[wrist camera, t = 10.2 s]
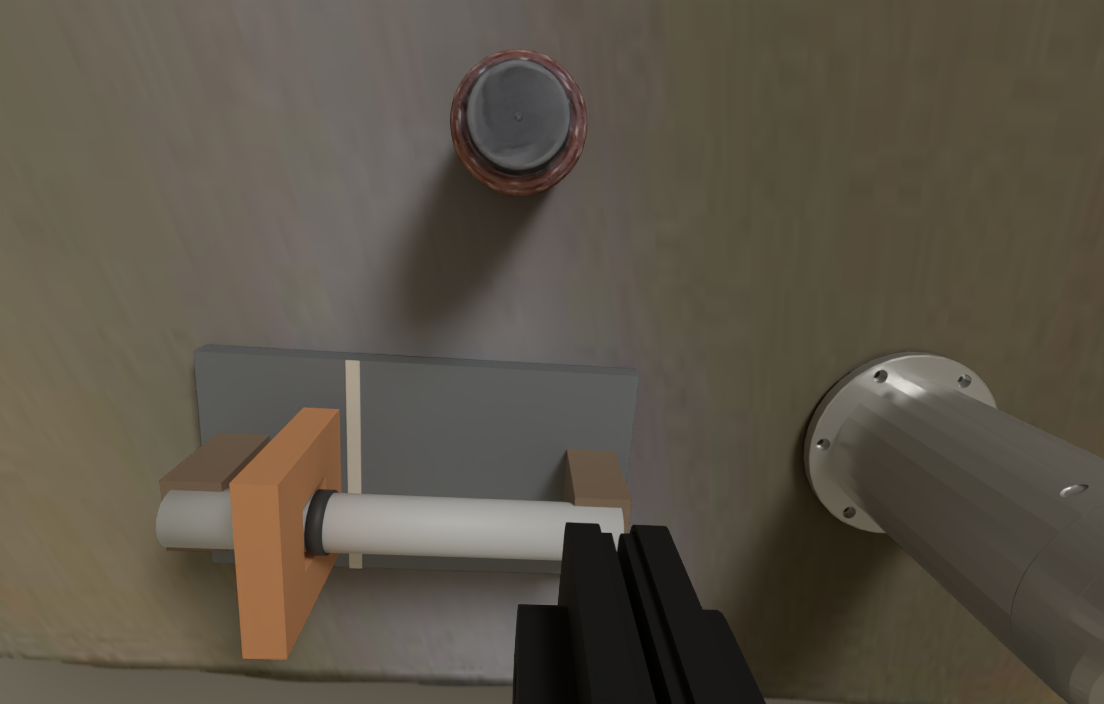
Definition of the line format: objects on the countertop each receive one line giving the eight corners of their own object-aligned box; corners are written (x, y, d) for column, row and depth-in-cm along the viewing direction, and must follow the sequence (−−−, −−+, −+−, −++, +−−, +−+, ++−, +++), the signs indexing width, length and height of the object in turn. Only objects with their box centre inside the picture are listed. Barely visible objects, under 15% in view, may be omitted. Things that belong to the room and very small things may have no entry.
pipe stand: (634, 369, 37) (669, 425, 29) (612, 562, 41) (637, 664, 32) (206, 344, 36) (103, 396, 27) (223, 549, 39) (137, 653, 31)
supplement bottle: (591, 162, 34) (624, 151, 23) (500, 214, 35) (492, 227, 24) (540, 61, 32) (549, -2, 22) (446, 117, 33) (409, 84, 22)
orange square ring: (339, 409, 34) (277, 485, 25) (342, 546, 36) (287, 659, 28) (303, 407, 34) (229, 483, 25) (309, 545, 36) (242, 658, 28)
